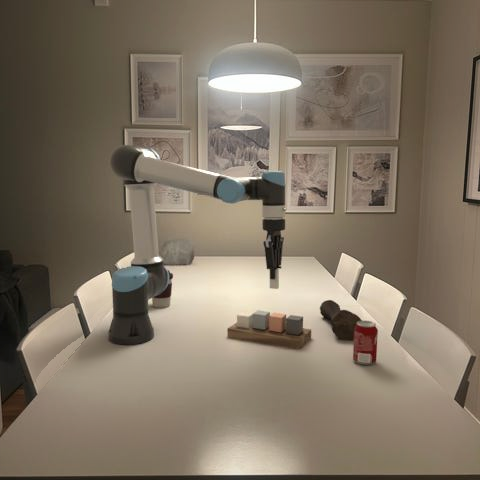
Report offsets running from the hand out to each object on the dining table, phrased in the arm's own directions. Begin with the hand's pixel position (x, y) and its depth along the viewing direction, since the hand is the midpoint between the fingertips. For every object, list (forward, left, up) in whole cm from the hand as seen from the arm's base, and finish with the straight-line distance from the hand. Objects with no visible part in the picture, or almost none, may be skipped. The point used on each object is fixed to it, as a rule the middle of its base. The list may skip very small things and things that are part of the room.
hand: (274, 288), depth 164 cm
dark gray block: (0, -8, -14) cm, 16 cm away
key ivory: (0, +10, -15) cm, 19 cm away
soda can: (-8, -32, -18) cm, 38 cm away
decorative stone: (+96, +100, -18) cm, 140 cm away
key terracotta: (0, -2, -14) cm, 14 cm away
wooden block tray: (0, +1, -17) cm, 17 cm away
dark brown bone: (+20, -17, -18) cm, 32 cm away
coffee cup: (+16, +57, -18) cm, 61 cm away
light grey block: (0, +4, -14) cm, 15 cm away
